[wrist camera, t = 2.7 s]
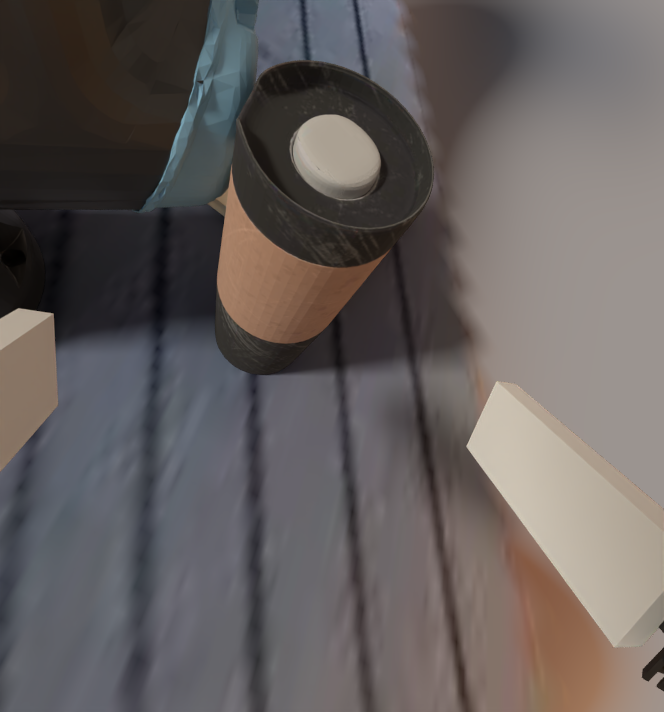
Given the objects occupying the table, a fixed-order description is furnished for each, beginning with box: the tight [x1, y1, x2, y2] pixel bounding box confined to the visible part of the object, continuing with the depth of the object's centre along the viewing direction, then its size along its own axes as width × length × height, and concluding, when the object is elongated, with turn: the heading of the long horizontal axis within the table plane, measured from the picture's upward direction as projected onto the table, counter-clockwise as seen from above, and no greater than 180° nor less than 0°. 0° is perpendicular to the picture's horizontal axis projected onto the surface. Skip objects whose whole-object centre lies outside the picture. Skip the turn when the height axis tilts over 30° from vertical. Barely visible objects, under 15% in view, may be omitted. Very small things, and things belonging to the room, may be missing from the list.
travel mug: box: [215, 60, 434, 375], centre depth 23 cm, size 8×8×20 cm
